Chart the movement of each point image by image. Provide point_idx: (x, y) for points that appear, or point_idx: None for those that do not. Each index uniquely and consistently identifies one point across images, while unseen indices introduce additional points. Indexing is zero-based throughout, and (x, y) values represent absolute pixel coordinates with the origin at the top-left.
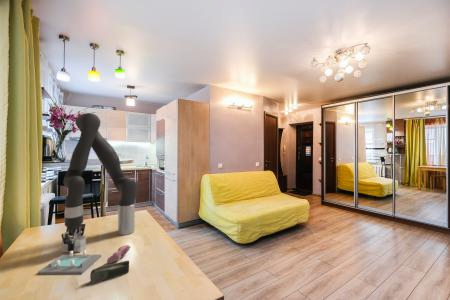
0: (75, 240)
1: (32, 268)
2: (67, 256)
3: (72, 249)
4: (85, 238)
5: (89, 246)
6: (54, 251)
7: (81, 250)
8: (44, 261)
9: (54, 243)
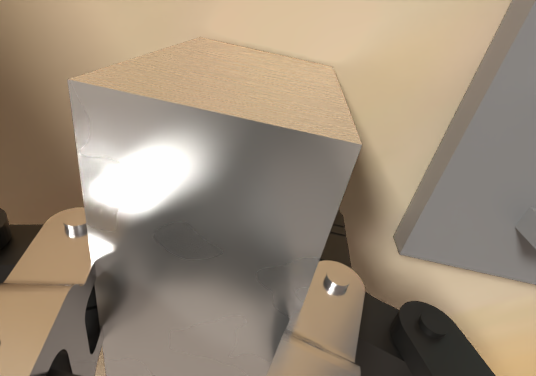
0: (312, 264)
1: (529, 369)
2: (490, 184)
3: None
4: (125, 71)
5: (136, 2)
6: None
7: (309, 63)
8: None
9: None
